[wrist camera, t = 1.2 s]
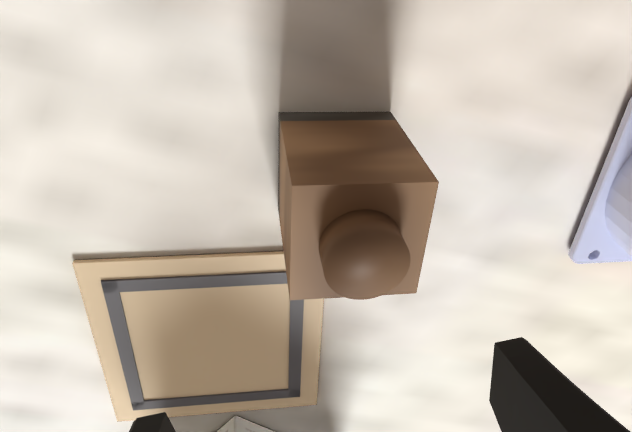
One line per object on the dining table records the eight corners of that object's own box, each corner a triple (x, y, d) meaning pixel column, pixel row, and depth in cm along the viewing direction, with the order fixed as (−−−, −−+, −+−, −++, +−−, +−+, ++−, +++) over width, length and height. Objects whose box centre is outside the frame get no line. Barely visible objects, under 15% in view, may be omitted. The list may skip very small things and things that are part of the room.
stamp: (390, 111, 18) (452, 201, 13) (377, 206, 20) (426, 315, 15) (278, 112, 17) (295, 206, 12) (278, 209, 19) (292, 324, 14)
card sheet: (326, 249, 21) (327, 253, 20) (316, 401, 26) (316, 406, 26) (73, 260, 19) (72, 265, 19) (118, 418, 25) (117, 423, 25)
